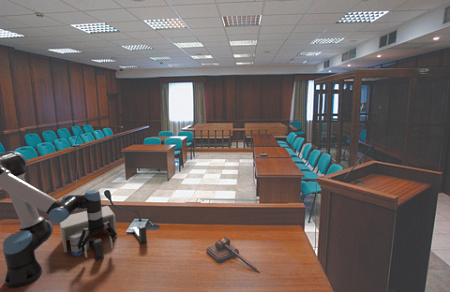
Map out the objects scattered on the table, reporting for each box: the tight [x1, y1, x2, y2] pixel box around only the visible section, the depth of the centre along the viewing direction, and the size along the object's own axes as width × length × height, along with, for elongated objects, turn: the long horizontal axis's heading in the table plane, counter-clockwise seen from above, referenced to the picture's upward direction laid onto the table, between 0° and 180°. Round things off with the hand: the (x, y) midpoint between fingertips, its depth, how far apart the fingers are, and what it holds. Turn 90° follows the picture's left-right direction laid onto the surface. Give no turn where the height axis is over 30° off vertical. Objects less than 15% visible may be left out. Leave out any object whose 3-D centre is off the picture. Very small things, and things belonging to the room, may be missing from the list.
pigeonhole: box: [59, 205, 118, 253], centre depth 168 cm, size 17×30×16 cm, turn 127°
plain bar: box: [131, 224, 148, 245], centre depth 170 cm, size 20×4×11 cm, turn 37°
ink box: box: [69, 230, 90, 257], centre depth 154 cm, size 8×5×12 cm, turn 159°
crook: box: [88, 237, 105, 261], centre depth 153 cm, size 22×12×11 cm, turn 36°
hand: (99, 251), depth 148 cm, fingers open, 13 cm apart
